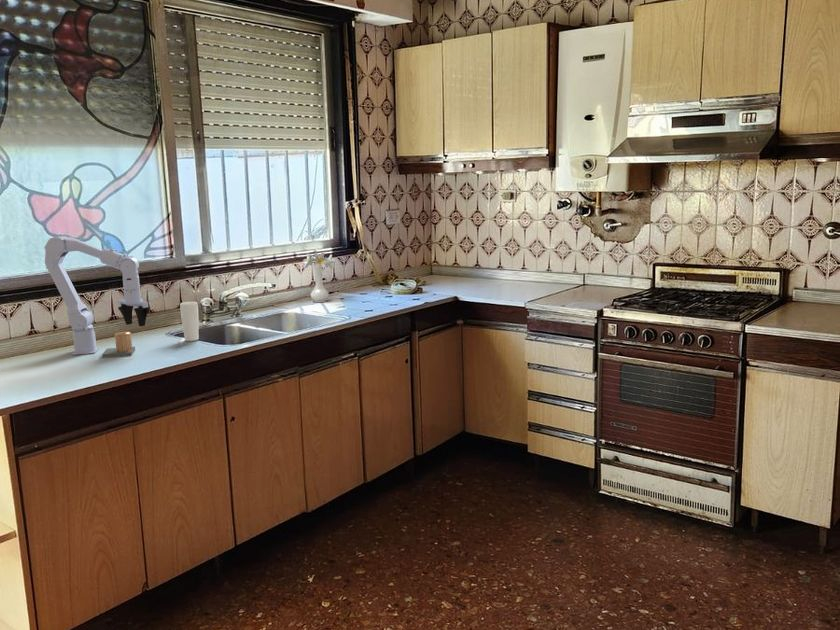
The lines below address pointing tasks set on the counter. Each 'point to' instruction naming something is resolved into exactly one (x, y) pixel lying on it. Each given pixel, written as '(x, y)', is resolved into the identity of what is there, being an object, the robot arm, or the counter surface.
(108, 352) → the base
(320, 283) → the flower vase
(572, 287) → the counter surface
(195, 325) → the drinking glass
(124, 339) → the copper topped wooden cylinder
